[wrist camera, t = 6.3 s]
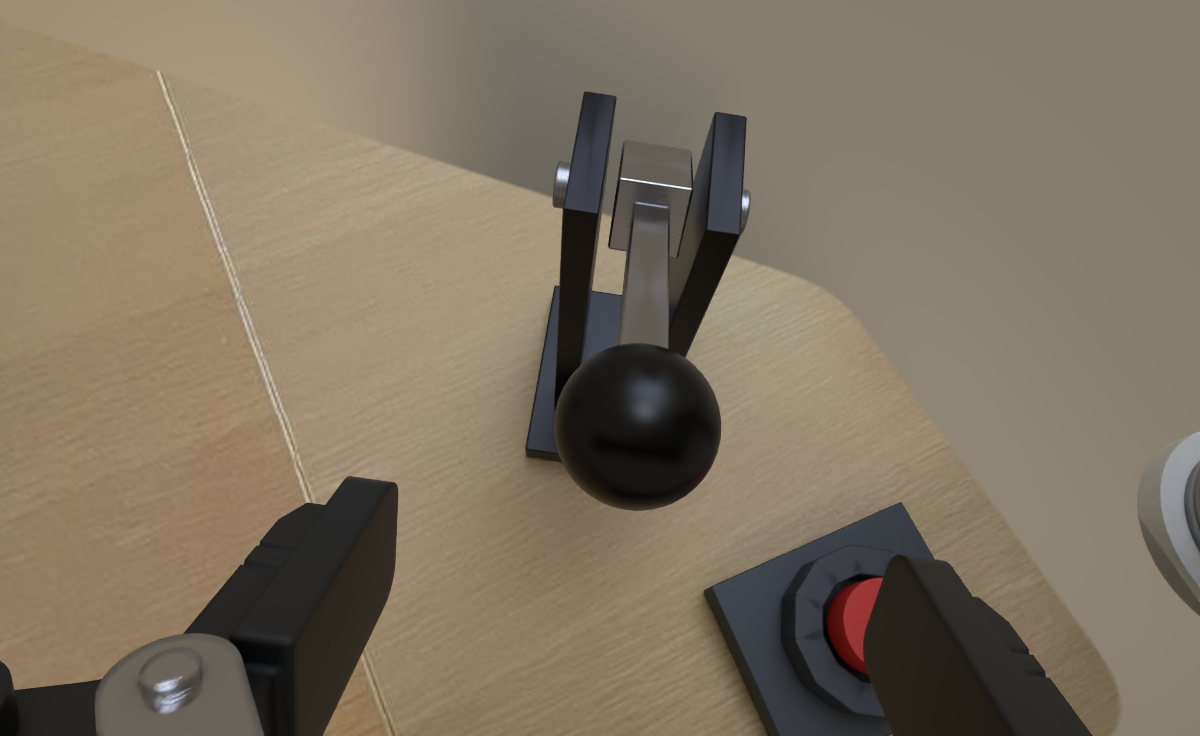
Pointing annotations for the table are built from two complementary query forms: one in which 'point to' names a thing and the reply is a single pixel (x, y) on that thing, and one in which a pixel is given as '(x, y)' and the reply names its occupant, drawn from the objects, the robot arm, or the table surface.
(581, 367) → the lever
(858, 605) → the button
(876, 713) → the control block
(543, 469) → the table surface
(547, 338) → the bracket
